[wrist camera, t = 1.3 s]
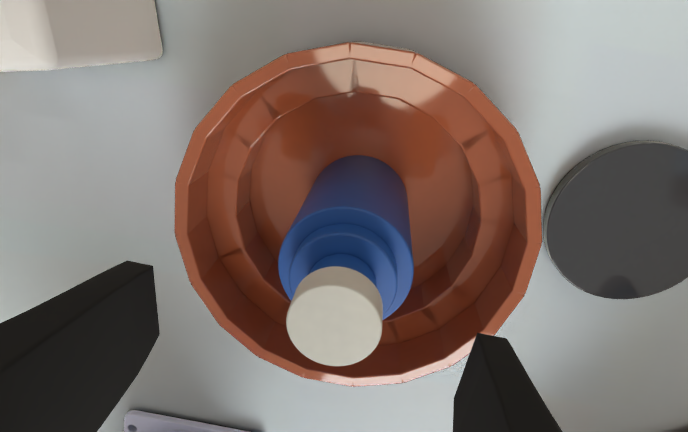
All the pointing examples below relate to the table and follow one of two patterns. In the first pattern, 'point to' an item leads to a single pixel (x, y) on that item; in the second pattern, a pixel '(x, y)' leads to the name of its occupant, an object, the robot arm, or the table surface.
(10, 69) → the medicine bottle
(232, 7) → the table surface
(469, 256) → the bowl
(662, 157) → the coaster
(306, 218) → the bottle
